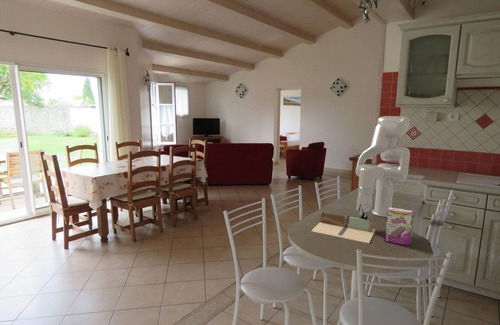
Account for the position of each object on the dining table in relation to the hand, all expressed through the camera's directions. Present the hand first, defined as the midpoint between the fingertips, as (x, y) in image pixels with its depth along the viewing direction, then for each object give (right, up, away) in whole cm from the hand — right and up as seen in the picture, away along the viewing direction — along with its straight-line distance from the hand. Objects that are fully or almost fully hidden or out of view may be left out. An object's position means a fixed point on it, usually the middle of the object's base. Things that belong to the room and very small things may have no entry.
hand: (363, 223), depth 166 cm
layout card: (-12, -3, -3) cm, 12 cm away
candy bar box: (+10, -6, -16) cm, 20 cm away
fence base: (-15, -2, +6) cm, 16 cm away
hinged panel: (-2, -3, -1) cm, 4 cm away
